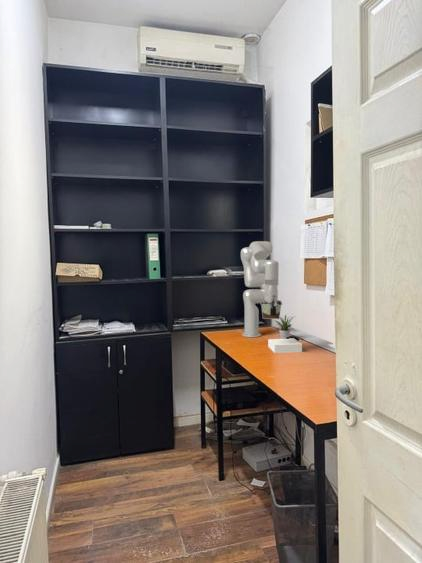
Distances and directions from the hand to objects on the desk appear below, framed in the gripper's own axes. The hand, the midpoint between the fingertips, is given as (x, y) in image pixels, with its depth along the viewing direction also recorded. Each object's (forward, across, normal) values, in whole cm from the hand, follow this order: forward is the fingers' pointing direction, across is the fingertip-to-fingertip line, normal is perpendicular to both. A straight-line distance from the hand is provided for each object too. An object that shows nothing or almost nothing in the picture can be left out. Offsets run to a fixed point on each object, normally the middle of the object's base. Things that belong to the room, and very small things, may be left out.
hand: (271, 313), depth 218 cm
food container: (+3, -1, 0) cm, 3 cm away
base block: (+23, -3, +10) cm, 25 cm away
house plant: (+23, -27, +20) cm, 41 cm away
